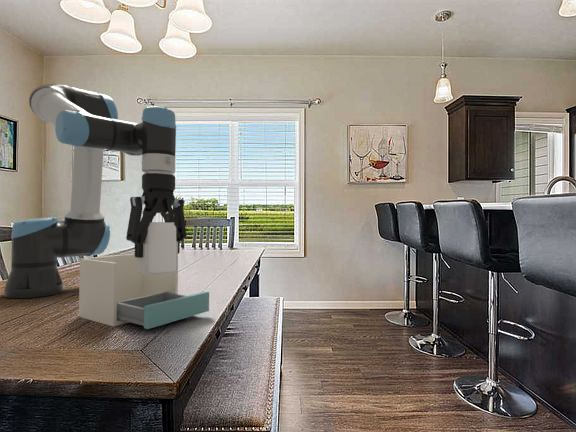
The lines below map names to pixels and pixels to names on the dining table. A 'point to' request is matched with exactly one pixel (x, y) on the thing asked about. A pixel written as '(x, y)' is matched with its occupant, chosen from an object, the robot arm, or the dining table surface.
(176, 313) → the teal drawer
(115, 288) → the white drawer cabinet
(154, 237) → the beverage can
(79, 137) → the robot arm
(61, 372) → the dining table surface
